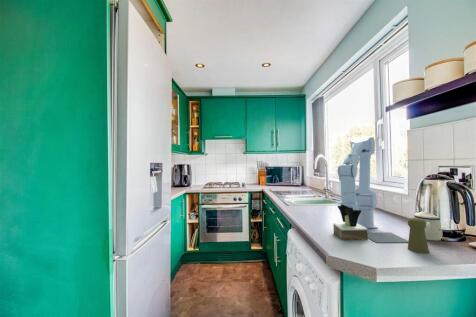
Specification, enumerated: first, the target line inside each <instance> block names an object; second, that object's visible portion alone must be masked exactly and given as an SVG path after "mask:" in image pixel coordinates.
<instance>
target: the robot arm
mask: <svg viewBox="0 0 476 317" xmlns="http://www.w3.org/2000/svg"><path fill="white" fill-rule="evenodd" d="M375 141H376V140H375V138H374V136H373V135H370V136H359V137H352V138H351V139H350V142H349V145H350V148H351V151H350V153H348V154H346V156H345V158H344V161H343V162H342V164H340V165H339V166H338V167H337V175H338V180H339V182H340V200H339V201H338V205H337V209H338V210H339V213H340V216H341V220H342V223H345V216H346V215H348V217H349V223H350V226H351V227H356V225H357V223H358V224H360V225H362V226H363V227H365V228H367V229H378V228H379V227H378V226H376V225H375V224H374V222H375V221H374V220H375V219H374V209H376V208H377V205H378V199H377V193H376V191H374V190H373V189H372V188H371V159H372V155H375V152H376V142H375ZM358 166H359V170H358ZM358 172H359V174H358ZM357 175H359V176H358V177H359V178H358V188H357V189H356V178H357Z"/></svg>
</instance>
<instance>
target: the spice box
mask: <svg viewBox="0 0 476 317" xmlns="http://www.w3.org/2000/svg"><path fill="white" fill-rule="evenodd" d="M332 227H333V234H334V235H335V236H336V237H338V239H340V240H341V241H368V240H369V238H368V235H367V233H368V229H367V230H341V229H339V228H338V227H337V226H335V225H334V224H333V226H332Z"/></svg>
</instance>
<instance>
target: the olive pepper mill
mask: <svg viewBox="0 0 476 317" xmlns="http://www.w3.org/2000/svg"><path fill="white" fill-rule="evenodd" d="M407 225H408V227H409V232H408V233H409V235H408V243H407V249H408V250H409V251H411V252H412V253H413V252H415V253H420V254H428V253H429V252H430V250H429V245H428V240H427V239H426V234H425V230H424V229H425V228H426V222H425V221H424V220H423V219H419V218H415V217H411V218H409V219H408V220H407Z"/></svg>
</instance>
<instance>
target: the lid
mask: <svg viewBox="0 0 476 317" xmlns="http://www.w3.org/2000/svg"><path fill="white" fill-rule="evenodd" d="M333 224H334V225H335V226H337V227H338V228H339V229H341V230H367V231H368V228H365V227H363V226H362V225H360V224H358V223H357V225H356V227H351V226H350V223H349V217H348V215H346V216H345V222H333Z"/></svg>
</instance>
